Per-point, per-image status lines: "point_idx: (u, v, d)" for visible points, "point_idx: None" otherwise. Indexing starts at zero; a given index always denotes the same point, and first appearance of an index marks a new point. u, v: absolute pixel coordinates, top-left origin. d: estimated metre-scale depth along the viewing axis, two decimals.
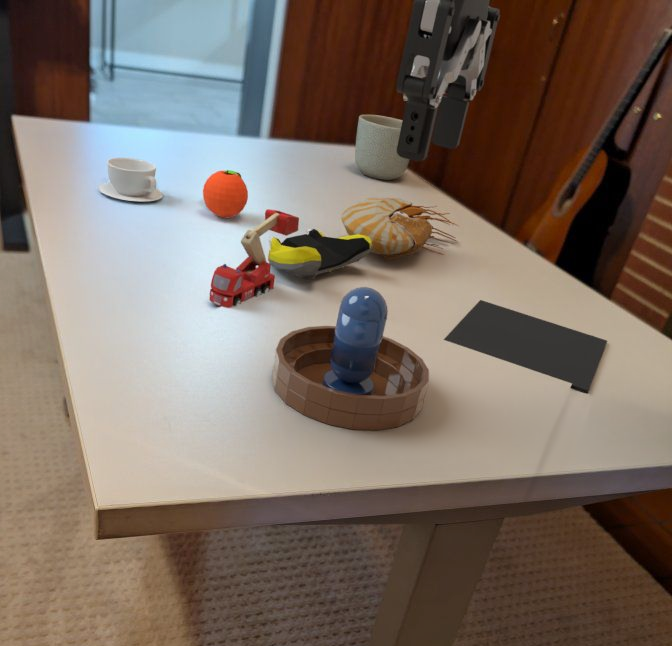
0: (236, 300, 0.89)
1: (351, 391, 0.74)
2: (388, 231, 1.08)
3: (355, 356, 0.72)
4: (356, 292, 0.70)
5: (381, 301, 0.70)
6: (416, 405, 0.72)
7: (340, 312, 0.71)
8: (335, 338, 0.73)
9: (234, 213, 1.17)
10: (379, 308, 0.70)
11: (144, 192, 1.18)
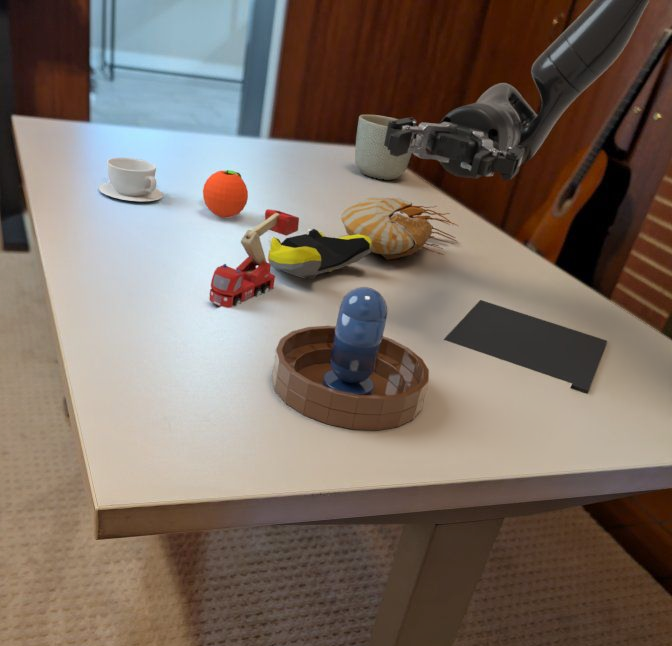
0: (236, 300, 0.89)
1: (351, 391, 0.74)
2: (388, 231, 1.08)
3: (355, 356, 0.72)
4: (356, 292, 0.70)
5: (381, 301, 0.70)
6: (416, 405, 0.72)
7: (340, 312, 0.71)
8: (335, 338, 0.73)
9: (234, 213, 1.17)
10: (379, 308, 0.70)
11: (144, 192, 1.18)
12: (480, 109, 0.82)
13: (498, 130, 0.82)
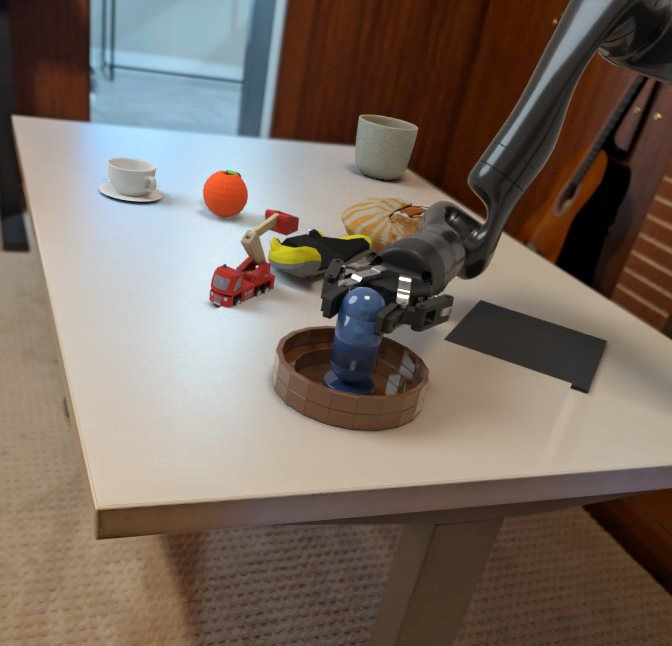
0: (236, 300, 0.89)
1: (351, 391, 0.74)
2: (388, 231, 1.08)
3: (354, 356, 0.72)
4: (355, 292, 0.70)
5: (380, 301, 0.70)
6: (416, 405, 0.72)
7: (339, 312, 0.71)
8: (335, 338, 0.73)
9: (234, 213, 1.17)
10: (378, 308, 0.70)
11: (144, 192, 1.18)
12: (412, 250, 0.78)
13: (432, 272, 0.78)
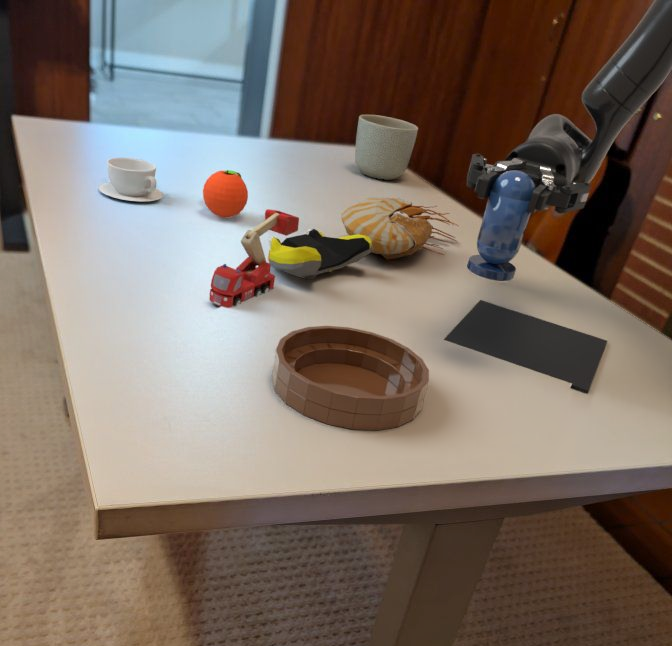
0: (236, 300, 0.89)
1: (498, 270, 0.80)
2: (388, 231, 1.08)
3: (505, 235, 0.78)
4: (509, 173, 0.76)
5: (532, 181, 0.76)
6: (416, 405, 0.72)
7: (492, 194, 0.77)
8: (485, 219, 0.79)
9: (234, 213, 1.17)
10: (530, 188, 0.76)
11: (144, 192, 1.18)
12: (548, 144, 0.84)
13: (565, 165, 0.84)
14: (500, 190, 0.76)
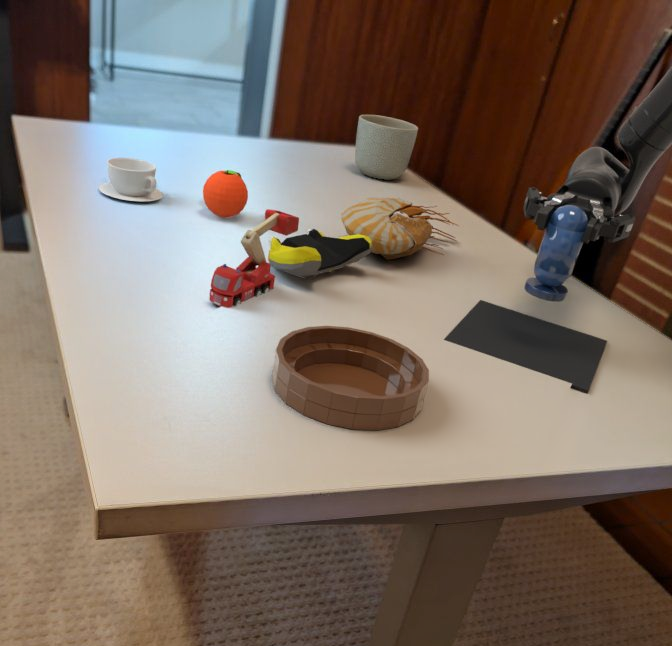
0: (236, 300, 0.89)
1: (553, 292, 0.91)
2: (388, 231, 1.08)
3: (560, 261, 0.88)
4: (565, 208, 0.87)
5: (585, 215, 0.87)
6: (416, 405, 0.72)
7: (550, 225, 0.88)
8: (542, 247, 0.89)
9: (234, 213, 1.17)
10: (584, 221, 0.87)
11: (144, 192, 1.18)
12: (596, 179, 0.94)
13: (611, 198, 0.94)
14: (557, 223, 0.87)
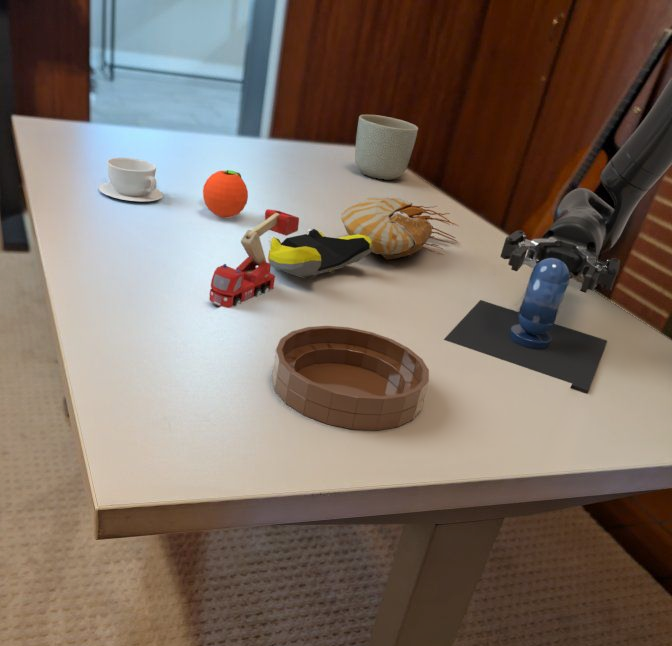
0: (236, 300, 0.89)
1: (536, 340, 0.94)
2: (388, 231, 1.08)
3: (543, 312, 0.92)
4: (547, 261, 0.90)
5: (567, 268, 0.90)
6: (416, 405, 0.72)
7: (533, 277, 0.91)
8: (526, 298, 0.93)
9: (234, 213, 1.17)
10: (566, 274, 0.90)
11: (144, 192, 1.18)
12: (580, 225, 0.97)
13: (595, 242, 0.97)
14: (540, 275, 0.90)
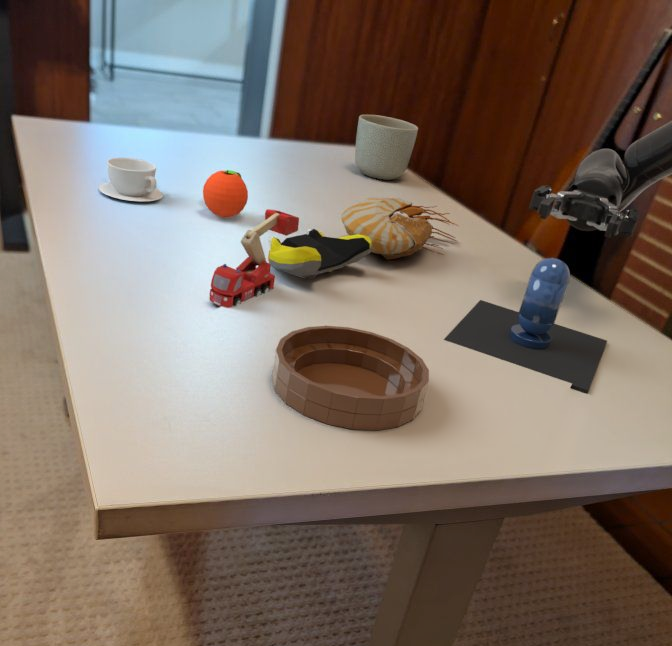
0: (236, 300, 0.89)
1: (536, 340, 0.94)
2: (388, 231, 1.08)
3: (543, 312, 0.92)
4: (547, 261, 0.90)
5: (567, 268, 0.90)
6: (416, 405, 0.72)
7: (533, 277, 0.91)
8: (526, 298, 0.93)
9: (234, 213, 1.17)
10: (566, 274, 0.90)
11: (144, 192, 1.18)
12: (602, 179, 1.05)
13: (616, 195, 1.06)
14: (540, 275, 0.90)
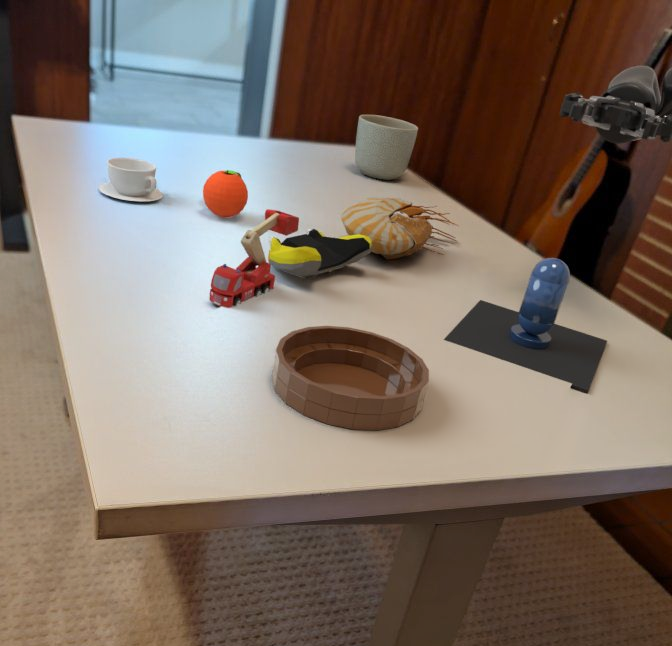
0: (236, 300, 0.89)
1: (536, 340, 0.94)
2: (388, 231, 1.08)
3: (543, 312, 0.92)
4: (547, 261, 0.90)
5: (567, 268, 0.90)
6: (416, 405, 0.72)
7: (533, 277, 0.91)
8: (526, 298, 0.93)
9: (234, 213, 1.17)
10: (566, 274, 0.90)
11: (144, 192, 1.18)
12: (637, 85, 0.99)
13: (651, 103, 0.99)
14: (540, 275, 0.90)
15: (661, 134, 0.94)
